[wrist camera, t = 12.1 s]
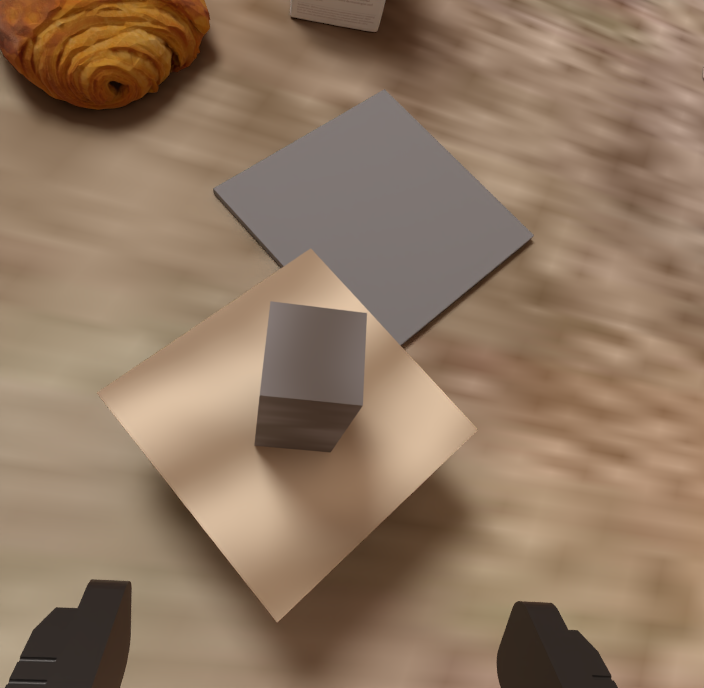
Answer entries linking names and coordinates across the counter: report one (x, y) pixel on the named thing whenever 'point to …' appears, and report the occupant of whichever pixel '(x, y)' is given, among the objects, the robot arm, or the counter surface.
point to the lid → (288, 427)
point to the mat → (378, 213)
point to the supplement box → (341, 12)
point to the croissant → (101, 45)
